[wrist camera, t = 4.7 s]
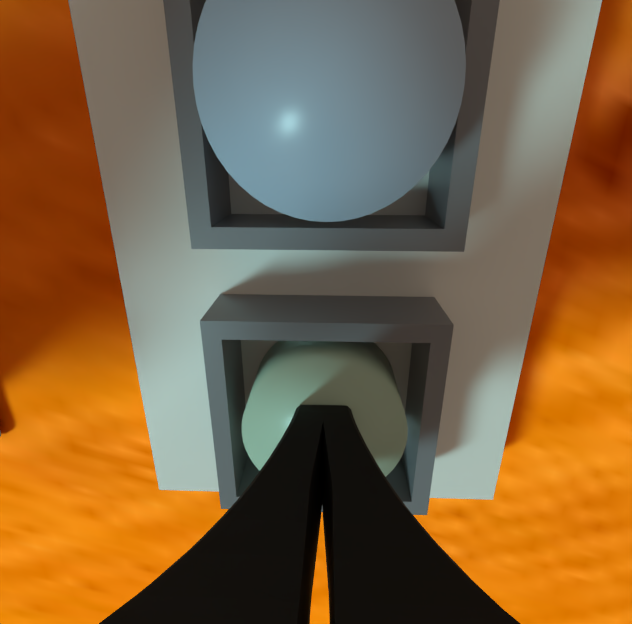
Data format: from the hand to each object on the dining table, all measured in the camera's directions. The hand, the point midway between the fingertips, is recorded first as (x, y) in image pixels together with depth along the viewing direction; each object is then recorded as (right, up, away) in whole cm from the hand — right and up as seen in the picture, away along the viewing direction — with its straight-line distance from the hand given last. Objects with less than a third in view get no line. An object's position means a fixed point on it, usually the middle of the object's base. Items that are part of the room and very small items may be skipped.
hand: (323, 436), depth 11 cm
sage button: (0, +1, +2) cm, 2 cm away
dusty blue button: (0, +8, -2) cm, 8 cm away
